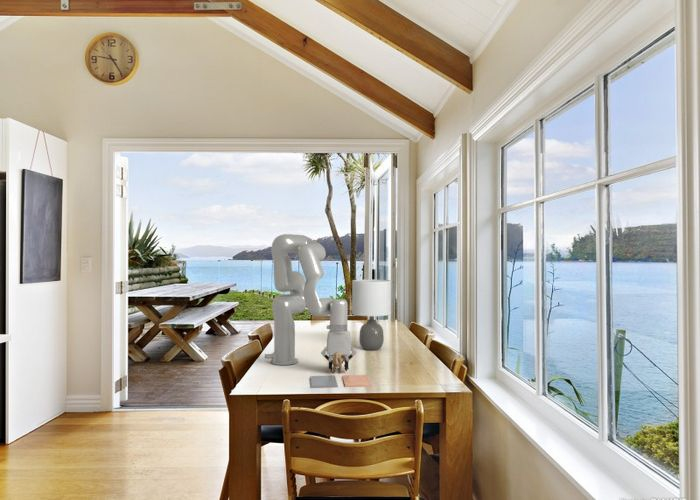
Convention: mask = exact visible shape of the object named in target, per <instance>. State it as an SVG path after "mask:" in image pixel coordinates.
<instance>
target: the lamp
mask: <svg viewBox="0 0 700 500" xmlns="http://www.w3.org/2000/svg"><path fill="white" fill-rule="evenodd" d="M351 284H352V286H351V287H352V290H351V291H352V295H351V300H352V301H351V303H352V304H351V306H352V309H351V314H352V315H354V316H361V317H369V318H368V319H367V320H366V323H363V324H362V325H361V326H360V328H359V338H358V341H359V345H360V347H361V348H362V349H364V350H365V351H377V350H380V349H381V348H382V347H383V345H384V337H385V336H384V335H385V334H384V329H383V326H382V325H380V323H377V320H376V319H375V318H374V317H384V316H385V317H386V316H391V315H392V280H389V279H353V280H352V283H351Z"/></svg>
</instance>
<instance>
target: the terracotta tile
mask: <svg viewBox="0 0 700 500" xmlns="http://www.w3.org/2000/svg"><path fill="white" fill-rule="evenodd" d="M342 381H343V384H344V387H345V388H366V387H367V388H370V387H371V388H372V383H371V382H370V381H371V380H370V379H369V377H368V376H367V374H353V375H351V374H350V375H348V374H347V375H345V374H344V375H342Z"/></svg>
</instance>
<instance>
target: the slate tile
mask: <svg viewBox="0 0 700 500" xmlns="http://www.w3.org/2000/svg"><path fill="white" fill-rule="evenodd" d="M310 384H311V388H312V389H319V388H320V389H325V388H327V389H329V388H331V389H332V388H338V387H339V385H338V381H337V378H336V375H310Z"/></svg>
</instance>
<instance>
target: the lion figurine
mask: <svg viewBox="0 0 700 500" xmlns="http://www.w3.org/2000/svg"><path fill="white" fill-rule="evenodd" d="M345 359H346V358H345V355H341V354H340V353H335V354H334V355H333V357H332V369H333V371H332V373H333V374H336V373H337V370H338V373H339V374H342V364H343V363H345ZM343 367H344V368H345V364H344V365H343ZM336 368H337V370H336ZM347 370H349V367H348V368H347Z"/></svg>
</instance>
